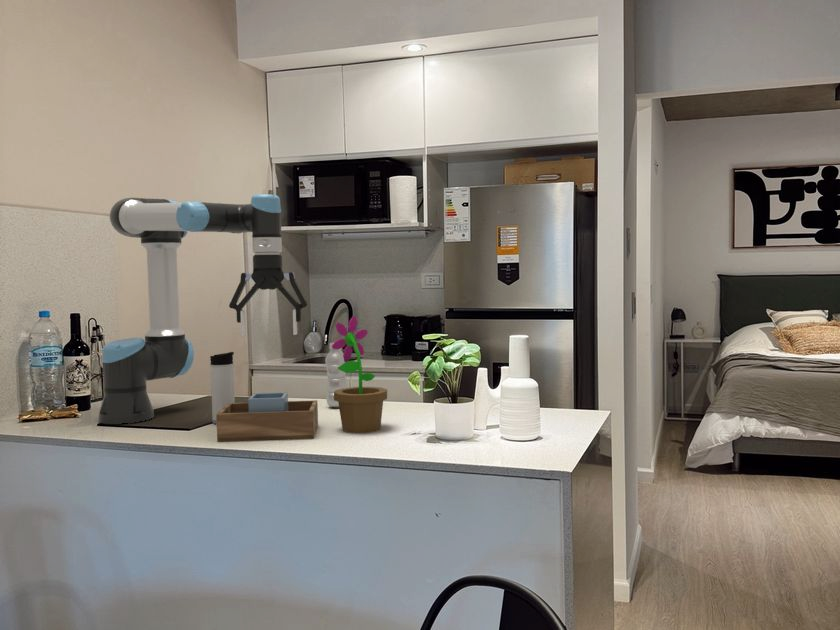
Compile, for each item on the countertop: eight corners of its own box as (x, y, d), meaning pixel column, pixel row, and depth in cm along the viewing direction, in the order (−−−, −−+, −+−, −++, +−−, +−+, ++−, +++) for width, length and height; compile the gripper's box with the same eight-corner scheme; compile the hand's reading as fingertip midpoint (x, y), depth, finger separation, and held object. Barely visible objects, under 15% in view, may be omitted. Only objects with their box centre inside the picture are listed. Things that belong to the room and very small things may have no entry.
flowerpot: (364, 421, 216) (362, 314, 214) (399, 428, 206) (397, 316, 204) (323, 429, 206) (320, 317, 204) (358, 437, 196) (355, 319, 194)
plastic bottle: (347, 409, 235) (345, 343, 234) (325, 409, 235) (323, 344, 234) (349, 405, 241) (347, 341, 240) (328, 405, 241) (326, 342, 240)
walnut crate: (229, 428, 210) (228, 403, 209) (318, 425, 211) (317, 400, 210) (217, 441, 194) (216, 414, 193) (313, 438, 195) (312, 411, 195)
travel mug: (230, 424, 215) (227, 353, 213) (208, 424, 216) (205, 353, 215) (240, 420, 221) (237, 350, 219) (218, 419, 222) (216, 350, 221)
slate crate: (255, 426, 206) (253, 393, 206) (288, 425, 207) (287, 392, 206) (249, 434, 197) (248, 399, 197) (284, 432, 198) (283, 398, 197)
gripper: (216, 254, 198) (218, 336, 200) (313, 253, 199) (315, 335, 200) (222, 254, 206) (224, 334, 207) (316, 253, 206) (318, 332, 208)
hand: (269, 334), depth 204 cm, fingers open, 13 cm apart
